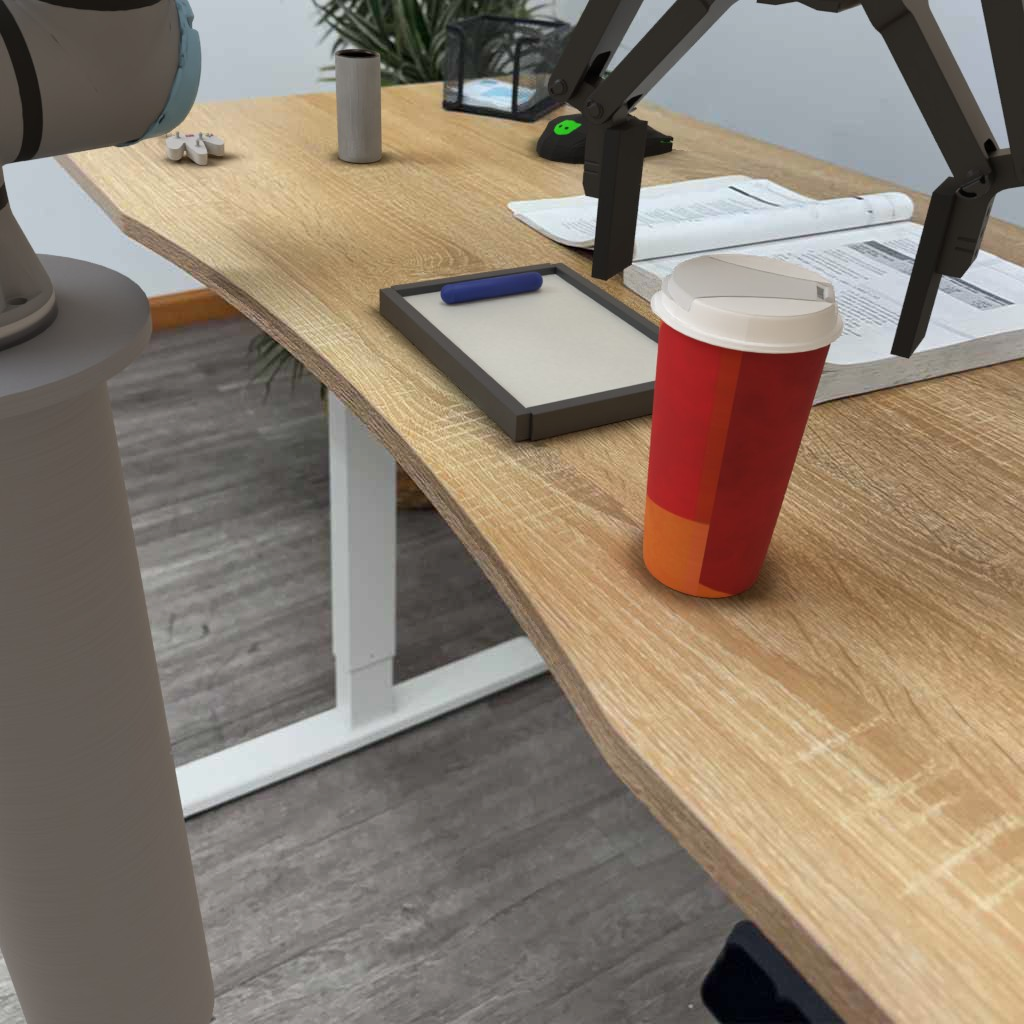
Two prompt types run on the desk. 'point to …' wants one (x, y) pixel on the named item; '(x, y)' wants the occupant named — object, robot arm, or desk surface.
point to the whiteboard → (532, 346)
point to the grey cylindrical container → (358, 105)
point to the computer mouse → (569, 140)
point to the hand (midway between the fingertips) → (750, 306)
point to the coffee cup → (729, 413)
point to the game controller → (194, 146)
